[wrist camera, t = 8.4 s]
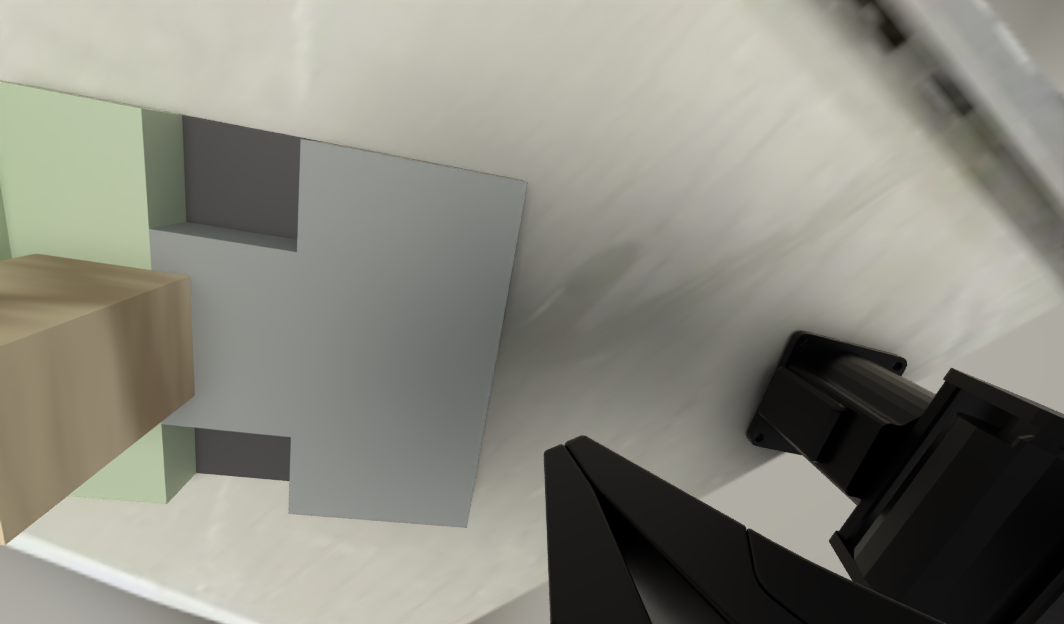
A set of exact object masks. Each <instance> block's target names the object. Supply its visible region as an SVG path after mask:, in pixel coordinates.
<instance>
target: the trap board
mask: <svg viewBox="0 0 1064 624" xmlns="http://www.w3.org/2000/svg"><path fill="white" fill-rule="evenodd" d="M526 189H527V182H525V181H523V180H518V179H513V178H508V177H503V176H498V175H492V174H487V173H482V172H477V171H471V170H466V169H461V168H456V167H451V166H445V165H440V164H435V163H430V162H425V161H419V160H414V159H409V158H404V157H399V156H393V155H388V154H383V153H378V152H373V151H367V150H362V149H357V148H352V147H346V146H341V145H336V144H331V143H326V142H320V141H315V140H310V139H305V138H300V137H294V136H289V135H284V134H279V133H274V132H268V131H263V130H258V129H253V128H248V127H242V126H237V125H232V124H227V123H221V122H216V121H211V120H206V119H201V118H195V117H190V116H185V115H180V114H175V113H169V112H164V111H159V110H154V109H149V108H143V107H138V106H133V105H128V104H122V103H117V102H112V101H107V100H102V99H96V98H91V97H86V96H81V95H76V94H70V93H65V92H60V91H55V90H50V89H44V88H39V87H34V86H29V85H23V84H18V83H12V82H6V81H0V261H1V260H6V259H11V258H16V257H21V256H26V255H31V254H43V255H50V256H57V257H64V258H71V259H78V260H85V261H91V262H98V263H105V264H112V265H119V266H126V267H133V268H140V269H147V270H154V271H161V272H168V273H175V274H182V275H189V276H190V287H191V312H192V337H193V362H194V387H195V396H194V397H192V398H191V399H190V400H189V401H187V402H186V403H185V404H184V405H182V406H181V407H180V408H178V409H177V410H176V411H175V412H173V413H172V414H171V415H170V416H168V417H167V418H166V419H165V420H163V421H162V422H161V423H159V424H158V425H157V426H156V427H154V428H153V429H152V430H151V431H149V432H148V433H147V434H145V435H144V436H143V437H142V438H140V439H139V440H138V441H137V442H135V443H134V444H133V445H132V446H130V447H129V448H128V449H126V450H125V451H124V452H123V453H121V454H120V455H119V456H118V457H116V458H115V459H114V460H112V461H111V462H110V463H109V464H107V465H106V466H105V467H104V468H102V469H101V470H100V471H99V472H97V473H96V474H95V475H93V476H92V477H91V478H90V479H88V480H87V481H86V482H85V483H83V484H82V485H81V486H79V487H78V488H77V489H76V490H74V491H73V492H72V493H71V494H69V495H68V496H67V497H80V498H93V499H105V500H118V501H131V502H144V503H157V504H167V503H168V502H169V501H170V500H171V499H172V498H173V497H174V496H175V495H176V494H177V493H178V492H179V491H180V489H181V488H182V487H183V486H184V485H185V484H186V483H187V482H188V481H189V480H190V479H191V478H192V477H193V476H194V475H195V474H196V473H204V474H215V475H227V476H238V477H249V478H261V479H272V480H283V481H290V483H289V513H288V514H297V515H310V516H323V517H336V518H348V519H361V520H374V521H387V522H399V523H412V524H425V525H438V526H451V527H463V528H467V523H468V518H469V512H470V506H471V501H472V495H473V489H474V484H475V478H476V472H477V467H478V461H479V455H480V450H481V444H482V438H483V433H484V427H485V421H486V416H487V410H488V404H489V398H490V393H491V387H492V381H493V376H494V370H495V364H496V359H497V353H498V347H499V342H500V336H501V330H502V325H503V319H504V313H505V308H506V302H507V296H508V291H509V285H510V279H511V274H512V268H513V262H514V257H515V251H516V245H517V240H518V234H519V228H520V223H521V217H522V211H523V206H524V200H525V194H526Z"/></svg>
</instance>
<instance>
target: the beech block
mask: <svg viewBox="0 0 1064 624" xmlns="http://www.w3.org/2000/svg"><path fill="white" fill-rule="evenodd" d="M194 396H195V387H194V362H193V337H192V312H191V287H190V276H189V275H182V274H175V273H168V272H161V271H154V270H147V269H140V268H133V267H126V266H119V265H112V264H105V263H98V262H91V261H85V260H78V259H71V258H64V257H57V256H50V255H43V254H31V255H26V256H21V257H16V258H11V259H6V260H1V261H0V545H6V544H7V543H8V542H10V541H11V540H12V539H13V538H15V537H16V536H17V535H19V534H20V533H21V532H22V531H24V530H25V529H26V528H27V527H29V526H30V525H31V524H32V523H34V522H35V521H36V520H38V519H39V518H40V517H41V516H43V515H44V514H45V513H46V512H48V511H49V510H50V509H52V508H53V507H54V506H55V505H57V504H58V503H59V502H60V501H62V500H63V499H64V498H65V497H67V496H68V495H69V494H71V493H72V492H73V491H74V490H76V489H77V488H78V487H79V486H81V485H82V484H83V483H85V482H86V481H87V480H88V479H90V478H91V477H92V476H93V475H95V474H96V473H97V472H99V471H100V470H101V469H102V468H104V467H105V466H106V465H107V464H109V463H110V462H111V461H112V460H114V459H115V458H116V457H118V456H119V455H120V454H121V453H123V452H124V451H125V450H126V449H128V448H129V447H130V446H132V445H133V444H134V443H135V442H137V441H138V440H139V439H140V438H142V437H143V436H144V435H145V434H147V433H148V432H149V431H151V430H152V429H153V428H154V427H156V426H157V425H158V424H159V423H161V422H162V421H163V420H165V419H166V418H167V417H168V416H170V415H171V414H172V413H173V412H175V411H176V410H177V409H178V408H180V407H181V406H182V405H184V404H185V403H186V402H187V401H189V400H190V399H191V398H192V397H194Z"/></svg>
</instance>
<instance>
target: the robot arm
mask: <svg viewBox="0 0 1064 624" xmlns="http://www.w3.org/2000/svg"><path fill="white" fill-rule="evenodd" d="M803 339H805V341H804V343H803V344H801V341H802V340H803ZM800 344H801V345H800ZM894 364H895V365H894ZM893 365H894V366H893ZM906 366H907V361H906V360H905V359H904V358H902V357H900V356H898V355H896V354H892V353H888V352H884V351H880V350H876V349H873V348H869V347H865V346H861V345H857V344H853V343H849V342H845V341H841V340H838V339H834V338H830V337H826V336H822V335H818V334H814V333H810V332H807V331H799V332H797V333H795V334H794V335H793V336H792V338H791V340H790V342H789V344H788V346H787V349H786V351H785V353H784V355H783V357H782V359H781V361H780V363H779V366H778V368H777V370H776V372H775V374H774V376H773V378H772V380H771V383H770V385H769V387H768V389H767V391H766V393H765V395H764V397H763V400H762V402H761V404H760V406H759V408H758V410H757V412H756V414H755V417H754V419H753V421H752V423H751V425H750V427H749V429H748V431H747V439H748V440H749V441H750V442H751V443H752V444H753V445H755V446H759V447H764V448H769V449H774V450H779V451H784V452H788V453H793V454H798V455H803V456H804V457H805V458H806V459H807V460H808V461H809V462H811V463H812V464H813V465H814V466H815V467H816V468H817V469H818V470H819V471H821V473H823V474H824V475H825V476H826V477H827V478H828V479H829V480H830V481H831V482H832V483H833V484H834V485H835V486H837V487H838V488H839V489H840V490H841V491H842V492H843V493H844V494H845V495H846V496H847V497H849V499H851V500H852V501H853V502H854V503H855V504H856V505H857V506H856V508H855V509H854V511H853V512H852V513H851V515H850V516H849V518H848V519H847V520H846V522H845V523H844V525H843V526H842V527H841V529H840V530H839V531H835V533H834V534H833V535H832V537H831V538H830V540H829V542H830V544H831V546H832V547H833V549H834V551H835V552H836V554H837V556H838V557H839V559H840V561H841V562H842V564H843V566H844V568H845V569H846V571H847V572H848V574H849V576H850V578H851V579H852V581H851V580H849V579H847V578H844V577H842V576H840V575H838V574H836V573H834V572H832V571H830V570H828V569H826V568H823V567H821V566H819V565H817V564H815V563H813V562H811V561H809V560H807V559H805V558H803V557H801V556H799V555H798V554H796V553H794V552H792V551H790V550H788V549H786V548H784V547H783V546H781V545H779V544H777V543H775V542H773V541H771V540H770V539H768V538H766V537H764V536H762V535H761V534H759V533H757V532H755V531H753V530H752V529H747V531H746V527H745V526H744V525H742V524H741V523H739V522H737V521H736V520H734V519H732V518H730V517H729V516H727V515H725V514H723V513H721V512H720V511H718V510H716V509H714V508H712V507H711V506H709V505H707V504H705V503H703V502H702V501H700V500H698V499H697V498H695V497H693V496H691V495H689V494H688V493H686V492H684V491H682V490H681V489H679V488H677V487H675V486H674V485H672V484H670V483H668V482H666V481H665V480H663V479H661V478H659V477H658V476H656V475H654V474H652V473H650V472H649V471H647V470H645V469H643V468H642V467H640V466H638V465H636V464H634V463H633V462H631V461H629V460H627V459H626V458H624V457H622V456H620V455H619V454H617V453H615V452H613V451H611V450H610V449H608V448H606V447H604V446H603V445H601V444H599V443H597V442H595V441H594V440H592V439H590V438H588V437H587V436H583V435H582V436H579V437H576V438H574V439H572V440H569V441H567V442H566V443H565V446H564V445H562V444H560V445H558V446H555V447H553V448H551V449H548V450H546V451H545V452H544V472H545V497H546V523H547V549H548V574H549V600H550V624H1064V414H1062V413H1060V412H1057V411H1055V410H1053V409H1050V408H1048V407H1046V406H1044V405H1041V404H1039V403H1036V402H1034V401H1032V400H1029V399H1027V398H1024V397H1022V396H1019V395H1017V394H1014V393H1012V392H1010V391H1007V390H1004V389H1002V388H1000V387H997V386H995V385H992V384H990V383H988V382H985V381H983V380H980V379H978V378H975V377H973V376H970V375H968V374H965V373H963V372H961V371H958V370H956V369H953V368H951V369H950V370H949V371H948V373H947V374H946V376H945V377H944V379H943V380H945V382H944V384H943V385H942V387H941V388H940V390H939V391H938V392H937V394H934V393H932V392H930V391H928V390H926V389H924V388H923V387H920V386H919V385H917V384H915V383H913V382H911V381H909V380H907V379H905V378H903V377H901V376H902V374H903V372H904V371H905V369H906ZM758 434H760V435H759V436H758V437H756V436H757V435H758ZM755 437H756V438H755Z"/></svg>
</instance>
